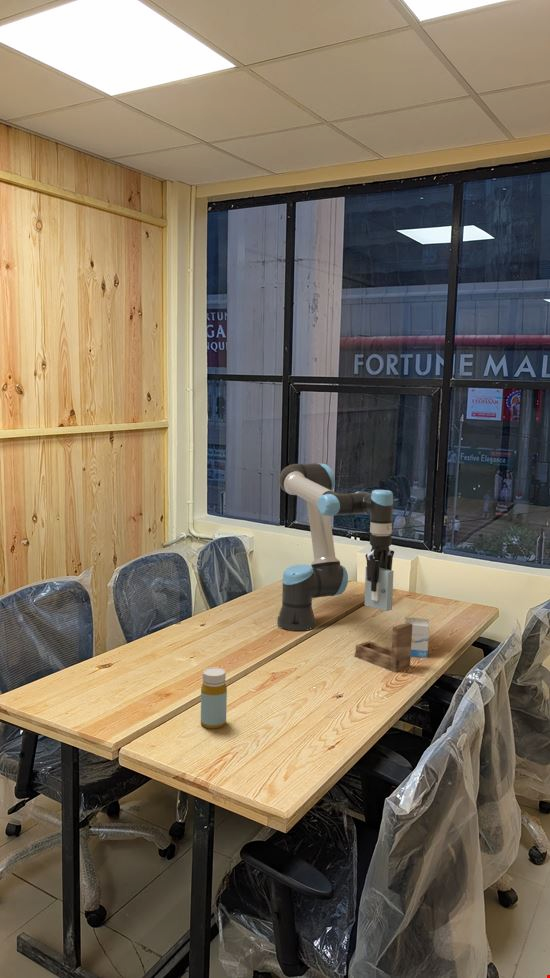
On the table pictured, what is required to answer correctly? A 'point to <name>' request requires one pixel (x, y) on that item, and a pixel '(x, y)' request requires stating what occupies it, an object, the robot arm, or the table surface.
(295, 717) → the table surface
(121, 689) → the table surface
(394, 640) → the track
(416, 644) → the ink box
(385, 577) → the door
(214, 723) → the bottle
